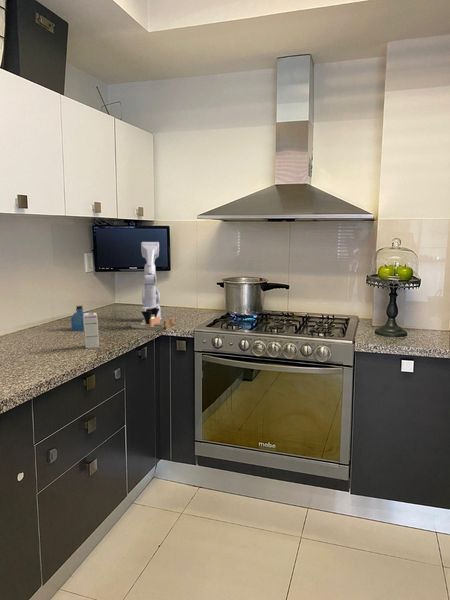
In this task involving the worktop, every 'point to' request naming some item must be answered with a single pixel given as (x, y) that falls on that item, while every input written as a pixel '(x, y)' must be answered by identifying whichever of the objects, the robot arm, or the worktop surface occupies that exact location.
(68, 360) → the worktop surface
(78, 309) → the perfume bottle
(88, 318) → the syrup box
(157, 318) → the pusher
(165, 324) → the lane
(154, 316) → the jar
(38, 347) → the worktop surface
